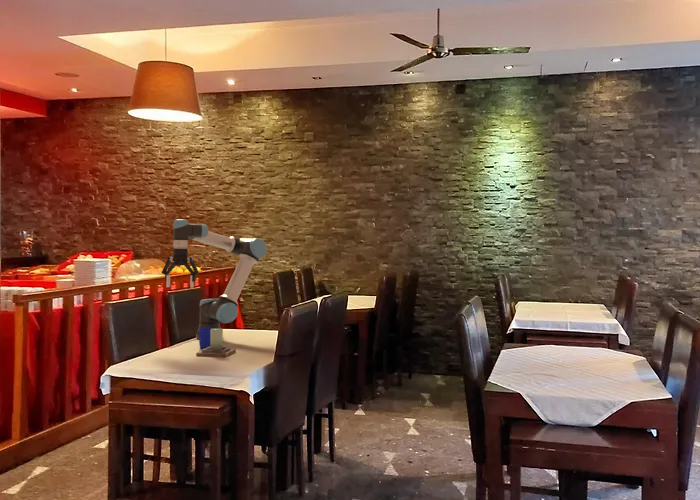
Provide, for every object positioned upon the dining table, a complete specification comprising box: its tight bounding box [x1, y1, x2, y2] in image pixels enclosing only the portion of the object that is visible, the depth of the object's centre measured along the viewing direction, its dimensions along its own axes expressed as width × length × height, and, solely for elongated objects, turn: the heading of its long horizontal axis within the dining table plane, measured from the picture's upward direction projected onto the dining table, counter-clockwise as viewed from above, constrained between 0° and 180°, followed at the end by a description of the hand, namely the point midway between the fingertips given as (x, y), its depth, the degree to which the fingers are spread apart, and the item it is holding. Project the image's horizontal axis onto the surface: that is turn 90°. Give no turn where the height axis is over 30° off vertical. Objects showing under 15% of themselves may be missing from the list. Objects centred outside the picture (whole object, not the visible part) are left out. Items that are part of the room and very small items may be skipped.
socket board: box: [195, 346, 237, 358], centre depth 307 cm, size 15×15×3 cm
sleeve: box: [210, 328, 224, 350], centre depth 307 cm, size 6×6×11 cm
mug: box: [198, 328, 213, 349], centre depth 327 cm, size 8×12×10 cm
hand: (180, 287), depth 329 cm, fingers open, 13 cm apart
